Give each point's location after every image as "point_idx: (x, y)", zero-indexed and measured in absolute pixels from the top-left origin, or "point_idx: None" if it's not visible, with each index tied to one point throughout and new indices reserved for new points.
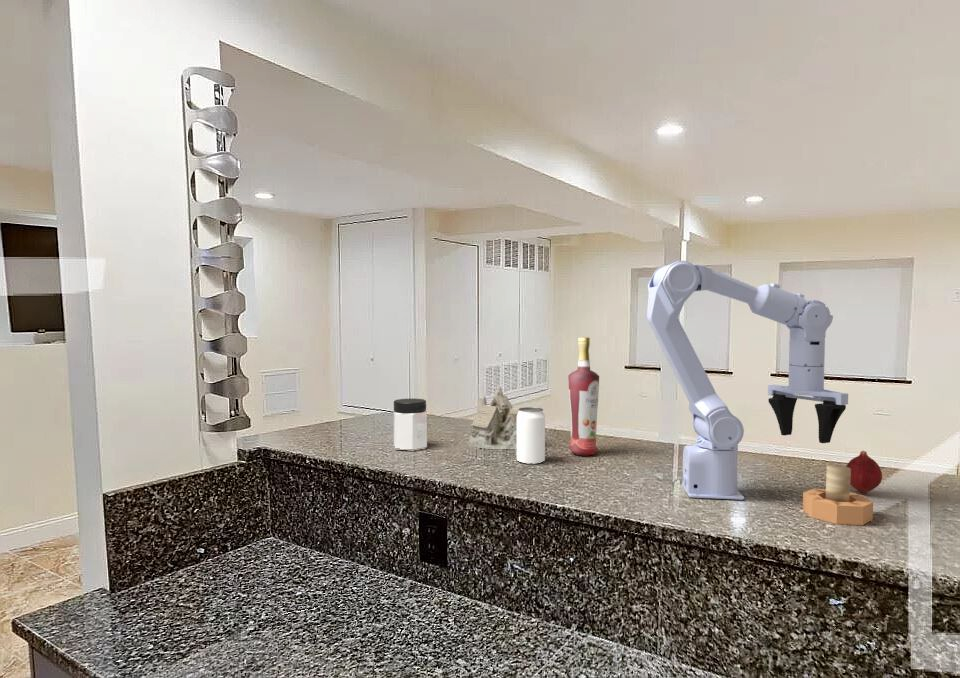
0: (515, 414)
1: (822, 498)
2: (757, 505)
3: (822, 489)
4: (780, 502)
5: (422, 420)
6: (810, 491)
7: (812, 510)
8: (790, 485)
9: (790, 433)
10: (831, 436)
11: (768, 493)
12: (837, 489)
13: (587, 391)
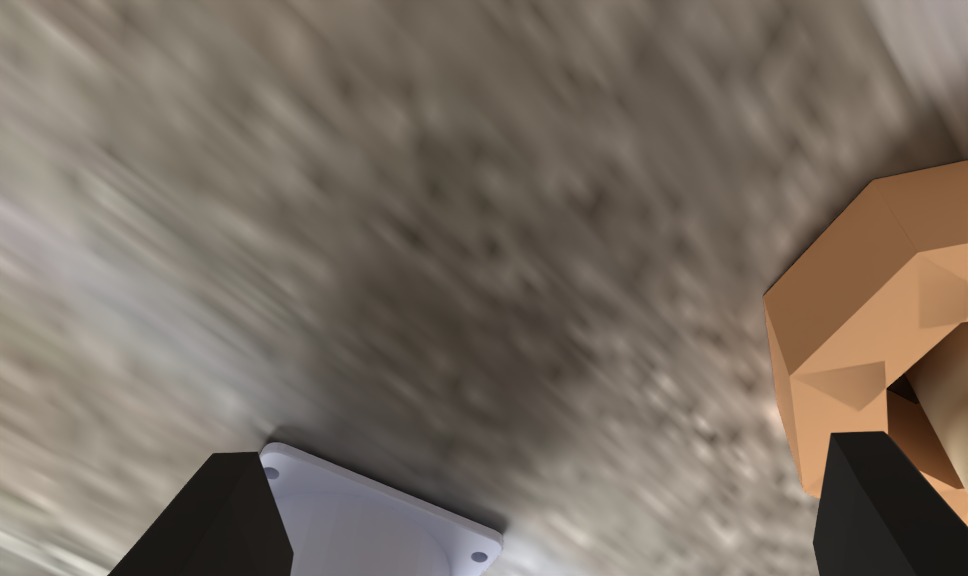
0: None
1: (953, 491)
2: (594, 526)
3: (840, 342)
4: (612, 404)
5: None
6: (818, 443)
7: None
8: (304, 27)
9: (258, 478)
10: (932, 487)
11: (435, 334)
12: None
13: None
